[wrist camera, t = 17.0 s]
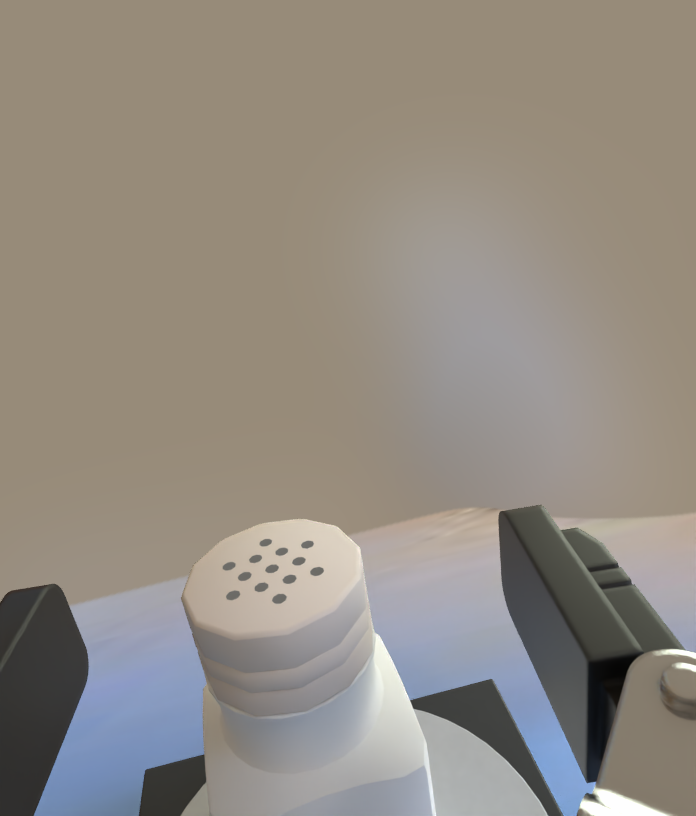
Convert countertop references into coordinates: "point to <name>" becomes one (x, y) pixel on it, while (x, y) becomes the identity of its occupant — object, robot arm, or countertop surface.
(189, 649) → the countertop surface
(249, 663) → the salt shaker
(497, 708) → the scale
